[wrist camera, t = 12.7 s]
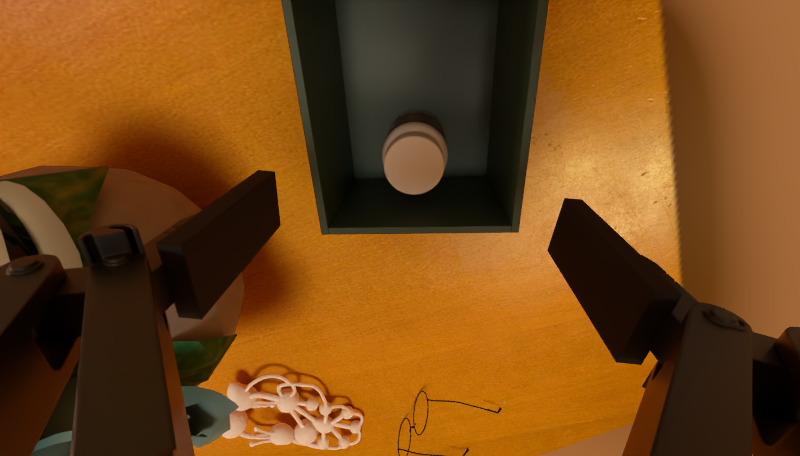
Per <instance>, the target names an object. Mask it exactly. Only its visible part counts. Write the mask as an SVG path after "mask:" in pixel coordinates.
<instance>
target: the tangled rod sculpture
mask: <svg viewBox="0 0 800 456" xmlns="http://www.w3.org/2000/svg"><path fill="white" fill-rule="evenodd" d="M267 378H277V379H280V380H283V381H284V382H285V383H281V384H279V385H278V386H277V393H278V394H279V395H278V396H277V395H274V394H270V393H265V392H257V390H256V389H255V388H254V387H253V385H254V384H255V383H257V382H259V381H261V380H263V379H267ZM285 386H291V387H292V388H286V389H284V390H282V391H281V390H280V388H281V387H285ZM296 386H301V387H311V388H314V389H315V390H317V392H318V393H319V394H320V396H321V398H322V400H323V403H322V404H321V405H320V408H319V411H320V413H321V414H322V415H324V417H315V418H314V417H313V416H311V415H310V414H309V413H307V412H306V411H304V410H303V409H302V408H300V407H299V406H298V405H302V406H306V408H307V410H309V411H314V410H316V409H317V407H318V405H319V402H318V399H317V398H315V397H310V398H309V399H308V400H307V401H303V400H300V397H299V394H298V392H297V391H296ZM227 398H229V399H230V400H232V401H233V402H235V403H236V404H237V405H238V406H239V408H237V409H236V410H235V411H233V412H232V413H231V414H230V415H229V416H230V430H228V431H227V432H225V433H224V434H222V435H221V436H223V437H225V438H235V437H237V436H241V437H244V438H247V439H269V440H265V441H260V442H256V443H254V442H253V441H252V442H250V447H253V446H255V445H258V444H262V443H269V442H272V443H274V444H275V445H287V444H290V443H294V444H300V445H303V446H308V447H311V448H316V449H321V450H324V449H329V450H337V449H340V448H342V449H346V448H347V447H348V446H349V445H355V444H357V443H358V442H359V441H360V439H361V432H360V430H361V425H362V423H363V415H362V414H361V413H358V412H353V408H352V407H351V406H344V405H331V403H330V402H327V401H326V398H325V396H324V394H323V392H322V390H321V389H320V388H319V387H318V386H316V385H314V384H310V383H300V382H291V381H290V380H288V379H287V378H285V377H283V376H281V375H278V374H267V375H264V376H261V377H259V378H257V379H255V380H253V381H252V382H251V383H250V384H241V383H239V382H237V381H233V382H231V383H230V384H229V386H228V390H227ZM257 398H264V399H268V400H272V401H256V400H257ZM275 405H277V407H278V409H279V410H280V411H281V412H285V413H289V412H290V413H291V415H292V416H293V417H294V419H295V420H296V422H297V423H298V424H297V425H296V427H295V430H294V434H293V430H292V428H291V427H290V426H289V425H288V424H286V423H277V424H275V425H273V426H272V428H271V429H270V431H263V430H261V429H259V427H258V426H256V427H255V428H254V431H255V432H257V431H258V432H261V433H248V432H245V431H244V430H245V428H246V426H247V423H248V416H247V413H246V412H245V410H248V409H249V408H260V407H263V408H266V407H268V406H270V407H271V408H273V407H275ZM334 408H342V411H341V414H340V415H339V416H338V417H336V418H335V419H332V418H331V417H328V414H330V413H331V411H332V409H334ZM294 410H296V411H297V412H299V413H300V414H302V415H303V416H305V417H306V418H305V419H303V420H301V419H300V418H299V416H298V415H297V413H296V412H295V411H294ZM353 415H357V416H359V417H360V418H361V420H360V421H358V420H354V421H352V422H351V423H350V424H346V423H341V422H338V421H340V420H341V419H342V418H344V419H350V418H351V417H352V416H353ZM334 426H335V427H340V428H345V429H350V431H351V432H352V433H354V434H356V433H358V438H357V440H356V441H353V442H350V438H349V437H348V436H347V435H343V436H341V435H340V434H339V432H338V431H337V430H336V429H335V428H334ZM331 431H332V433H333V434H334V435H335V436H336V437H337V438H338V439H339V441H338V444H339V446H335V447H331V446H328V445H329V439H328V437H327V436H326V433H329V432H331ZM318 432H321V437H320V438H319V439H318V441H317V443H314V441H315V439H316V437H317V435H318ZM294 437H295V438H294Z"/></svg>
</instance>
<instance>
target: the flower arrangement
mask: <svg viewBox="0 0 800 456" xmlns="http://www.w3.org/2000/svg"><path fill="white" fill-rule="evenodd" d="M200 211H202V209H201V208H199V207H198V206H197V205H196V204H194V203H193V202H192V201H191V200H189V199H188V198H187V197H186V196H184V195H183V194H182V193H181V192H179V191H178V190H177V189H176V188H174V187H171V186H169V185H166V184H164V183H161V182H159V181H156V180H154V179H152V178H149V177H147V176H144V175H142V174H139V173H137V172H134V171H132V170H129V169H117V168H109V167H108V166H104V167H74V166H37V167H34V168H30V169H26V170H22V171H18V172H14V173H11V174H7V175H3V176H0V266H2V265H4V264H6V263H8V262H10V261H11V260H14V259H17V258H19V259H20V257H24V256H33V255H43V254H49V255H55V256H57V257H58V258H59V260H60V262H61V264H62V266H63V268H64V269H69V268H81V267H88V265H87V263H86V261H85V258H84V256H83V254H82V252H81V249H80V247H79V245H78V242H77V239H78V238H79V236H80V235H82V234H83V233H85V232H87V231H89V230H92V229H94V228H97V227H101V226H105V225H110V224H119V223H121V224H131V225H135V226H136V227H137V228H138V231H139V234H140V237H141V240H142V243H143V245H144V244H146V243H147V242H149V241H150V240H152V239H153V238H154V237H156V236H157V235H159V234H160V233H163V231H165V230H166V229H168V228H171V226H172V225H173V224H175V223H176V222H178V221H179V220H181V219H183V218H186V217H188V216H191V215H193V214H197V213H199V212H200ZM244 293H245V284H244V279H243V275H242V272H241V273H240V274H239V276H238V277H237V278H236V279H235V281H234V282H233V283H232V284H231V285H230V287H229V288H228V289H227V290H226V291H225V293H224V294H223V295H222V296H221V297H220V299H219V300H218V301H217V302H216V303H215V305H214V306H213V307H212V308H211V309H210V311H209V312H208V313H207V314H206V315H205V317H204V318H203V319H202V320H200V319H190V318H180V317H178V314H177V311H176V308H175V305H174V303H173V304H172V305H171V306H170V307H169V308H168V309H167V310H166V311H165V312H166V315H167V318H168V322H169V327H170V332H171V337H172V343H173V348H174V353H175V358H176V363H177V368H178V373H179V378H180V383H181V388H182V393H183V399H184V404H185V409H186V414H187V419H188V424H189V429H190V434H191V439H192V444H193V445H195V446H196V447H202V446H204V445H206V444H208V443H210V442H212V441H214V440H216V439H217V438H218V437H220V436H221V435H222V434H224V433H225V432H227V431H228V430H230V416H229V415H230V414H231V413H232V412H233V411H235V410H236V409H237V408H239V406H238V405H237V404H236V403H235V402H233V401H232V400H230V399H229V398H227V397H226V396H224V395H222V394H220V393H218V392H215V391H213V390H209V389H205V388H200V387H197V386H198V385H199V384H200V383H202V382H204V381H207V380H208V379H209V377H210V376H211V374H212V373H213V371H214V370H215V368H216V367H217V365H218V364H219V362H220V361H221V359H222V358H223V356H224V354H225V353H226V351H227V350H228V348H229V347H230V345H231V344H232V342H233V341H234V339H235V338H236V336H237V334H235V335H234V333H235V330H236V326H237V323H238V319H239V316H240V312H241V308H242V303H243V298H244ZM78 366H79V360H78V362H77V364H76V366H75V368H74V370H73V372H72V374H71V376H70V378H69V380H68V382H67V384H66V386H65V388H64V390H63V392H62V394H61V396H60V398H59V400H58V402H57V404H56V406H55V408H54V410H53V412H52V414H51V416H50V418H49V420H48V422H47V424H46V426H45V428H44V430H43V433H42V435H41V437H40V439H39V441H38V443H37V445H36V447H35V449H34V451H33V453H32V455H31V456H70V451H71V441H72V430H73V419H74V409H75V398H76V387H77V377H78Z"/></svg>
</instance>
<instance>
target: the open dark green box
mask: <svg viewBox="0 0 800 456" xmlns="http://www.w3.org/2000/svg"><path fill="white" fill-rule="evenodd" d="M281 1H282V7H283V13H284V19H285V25H286V30H287V36H288V42H289V48H290V53H291V59H292V65H293V71H294V77H295V82H296V88H297V94H298V100H299V105H300V111H301V117H302V123H303V129H304V134H305V140H306V146H307V152H308V158H309V163H310V169H311V175H312V181H313V186H314V192H315V198H316V204H317V210H318V215H319V221H320V227H321V233H322V234H411V233H503V232H519V224H520V216H521V209H522V201H523V193H524V186H525V178H526V170H527V163H528V155H529V147H530V140H531V132H532V124H533V117H534V109H535V101H536V94H537V86H538V78H539V71H540V63H541V55H542V48H543V40H544V32H545V25H546V17H547V9H548V2H549V0H281ZM410 110H423V111H426V112H429V113H430V114H432V115H433V116H434V117H435V118H436V119H437V120H438V121H439V123H440V124H441V126H442V129H443V132H444V136H445V141H446V145H447V151H448V159H447V164H446V167H445V169H444V172H443V175H442V177H441V179H440V181H439V182H438V184H437V185H436V186H435V187H434V188H432V189H431V190H429V191H427V192H425V193H422V194H415V195H412V194H406V193H403V192H401V191H399V190H397V189H395V188H394V187H393V186H392V185H391V184H390V182H389V181H388V179H387V177H386V175H385V172H384V165H383V161H382V149H383V145H384V142H385V140H386V138H387V135H388V132H389V130H390V128H391V126H392V124H393V122H394V121H395V120H396V119H397V117H399V116H400V115H401V114H403V113H405V112H407V111H410Z"/></svg>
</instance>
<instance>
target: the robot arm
mask: <svg viewBox="0 0 800 456" xmlns="http://www.w3.org/2000/svg"><path fill="white" fill-rule="evenodd" d="M279 226H280V216H279V207H278V197H277V188H276V179H275V172H272V171H261V170H258V171H256V172H255V173H254V174H252V175H251V176H249V177H248V178H247V179H245V180H244V181H242V182H241V183H240V184H238V185H237V186H235V187H234V188H233V189H231V190H230V191H228V192H227V193H226V194H224V195H223V196H221V197H220V198H219V199H217V200H216V201H214V202H213V203H211V204H210V205H209V206H207V207H206V208H204V209H203V210H202V211H200V212H199V213H197V214H193V215H191V216H188V217H186V218H183V219H181V220H179V221H178V222H176V223H175V224H173V225H172V226H171V228H168V229H166V230H165V231H163V233H160V234H159V235H157V236H156V237H154V238H153V239H152V240H150V241H149V242H147V243H146V244H144V245H143V243H142V240H141V237H140V234H139V231H138V228H137V227H136V226H135V225H131V224H121V223H119V224H110V225H105V226H101V227H97V228H94V229H92V230H89V231H87V232H85V233H83V234H82V235H80V236H79V238H78V239H77V242H78V245H79V247H80V249H81V252H82V254H83V256H84V258H85V261H86V263H87V265H88V267H81V268H69V269H64V268H63V266H62V264H61V262H60V260H59V258H58V257H57V256H55V255H49V254H43V255H33V256H24V257H20V259H19V258H17V259H14V260H11V261H10V262H8V263H6V264H4V265H2V266H0V456H31V455H32V453H33V451H34V449H35V447H36V445H37V443H38V441H39V439H40V437H41V435H42V433H43V430H44V428H45V426H46V424H47V422H48V420H49V418H50V416H51V414H52V412H53V410H54V408H55V406H56V404H57V402H58V400H59V398H60V396H61V394H62V392H63V390H64V388H65V386H66V384H67V382H68V380H69V378H70V376H71V374H72V372H73V370H74V368H75V366H76V364H77V362H78V360H79V366H78V377H77V387H76V398H75V409H74V419H73V430H72V441H71V451H70V456H195V455H194V450H193V444H192V439H191V434H190V429H189V424H188V419H187V414H186V409H185V404H184V399H183V393H182V388H181V383H180V378H179V373H178V368H177V363H176V358H175V353H174V348H173V343H172V337H171V332H170V327H169V322H168V318H167V315H166V312H165V311H166V310H167V309H168V308H169V307H170V306H171V305H172V304H173V303H174V305H175V308H176V311H177V314H178V317H180V318H190V319H200V320H202V319H203V318H204V317H205V315H206V314H207V313H208V312H209V311H210V309H211V308H212V307H213V306H214V305H215V303H216V302H217V301H218V300H219V299H220V297H221V296H222V295H223V294H224V293H225V291H226V290H227V289H228V288H229V287H230V285H231V284H232V283H233V282H234V281H235V279H236V278H237V277H238V276H239V274H240V273H241V272H242V271H243V270H244V268H245V267H246V266H247V265H248V264H249V262H250V261H251V260H252V259H253V258H254V256H255V255H256V254H257V253H258V252H259V250H260V249H261V248H262V247H263V246H264V244H265V243H266V242H267V241H268V240H269V238H270V237H271V236H272V235H273V234H274V232H275V231H276V230H277V229H278V228H279ZM548 252H549V254H550V255H551V257H552V259H553V260H554V262H555V264H556V265H557V267H558V268H559V270H560V272H561V273H562V275H563V277H564V278H565V280H566V281H567V283H568V285H569V286H570V288H571V289H572V291H573V293H574V294H575V296H576V298H577V299H578V301H579V302H580V304H581V306H582V307H583V309H584V311H585V312H586V314H587V315H588V317H589V319H590V320H591V322H592V324H593V325H594V327H595V328H596V330H597V332H598V333H599V335H600V337H601V338H602V340H603V341H604V343H605V345H606V346H607V348H608V349H609V351H610V353H611V354H612V356H613V358H614V359H615V361H616V362H619V363H629V364H639V365H641V364H642V363H643V361H644V359H645V358H646V356H647V354H648V353H649V351H651V352H652V353H653V355H654V356H655V357H656V359H657V360H658V361H657V363H656V364H655V366H654V368H653V369H652V371H651V373H650V374H649V376H648V377H647V379H646V381H645V382H644V384H643V386H642V387H644V388H646V389H645V392H644V395H643V398H642V401H641V403H640V406H639V409H638V412H637V415H636V418H635V421H634V423H633V426H632V429H631V432H630V435H629V438H628V441H627V444H626V446H625V449H624V452H623V455H622V456H752V454H753V456H800V327H789V328H787V329H786V330H785V331H784V332H783V333H782V335H781V336H780V337H779V338H778V339H776V338H772V337H768V336H765V335H762V334H758V333H754V332H753V331H752V329H751V327H750V325H748V324H747V323H746V322H745V321H744V320H743V319H742V318H740V317H739V316H737V315H736V314H734V313H732V312H730V311H728V310H725V309H724V308H721V307H718V306H714V305H712V304H707V303H699V302H698V301H697V300H696V299H694V298H693V297H692V296H691V295H690V294H689V293H688V292H687V291H686V290H685V289H684V288H683V287H681V286H680V285H679V284H678V283H677V282H674V279H673V278H672V277H671V276H669V275H668V274H666V272H665V271H664V270H663V269H662V268H661V267H660V266H659V265H657V264H656V263H655V262H653V261H651V260H649V259H648V258H646V257H644V256H643V255H640V254H639V253H638V252H637V251H636V250H635V249H634V248H633V247H631V246H630V245H629V244H628V243H627V242H626V241H625V240H624V239H623V238H622V237H621V236H620V235H619V234H618V233H617V232H616V231H615V230H613V229H612V228H611V227H610V226H609V225H608V224H607V223H606V222H605V221H604V220H603V219H602V218H601V217H600V216H599V215H598V214H596V213H595V212H594V211H593V210H592V209H591V208H590V207H589V206H588V205H587V204H586V203H585V202H584V201H583V200H579V199H568V198H564V202H563V205H562V208H561V211H560V214H559V217H558V220H557V223H556V226H555V229H554V232H553V235H552V238H551V242H550V245H549V248H548Z"/></svg>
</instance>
